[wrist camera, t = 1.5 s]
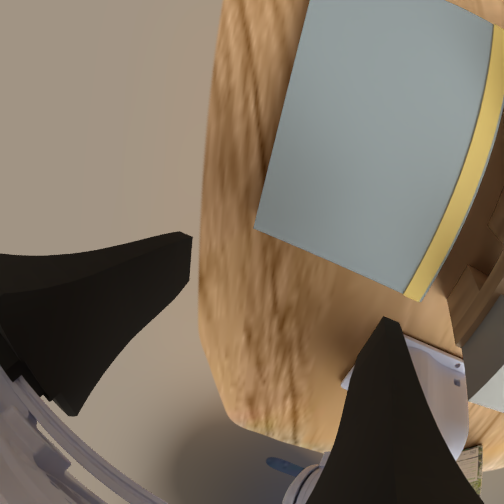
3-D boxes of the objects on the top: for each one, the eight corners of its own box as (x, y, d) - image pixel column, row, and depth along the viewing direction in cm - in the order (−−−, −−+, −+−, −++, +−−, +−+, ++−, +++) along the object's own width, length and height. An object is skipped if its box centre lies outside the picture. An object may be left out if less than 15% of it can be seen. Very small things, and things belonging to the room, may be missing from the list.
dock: (502, 44, 8) (514, 36, 6) (419, 286, 17) (421, 303, 16) (325, -20, 11) (317, -34, 10) (265, 219, 21) (252, 229, 19)
